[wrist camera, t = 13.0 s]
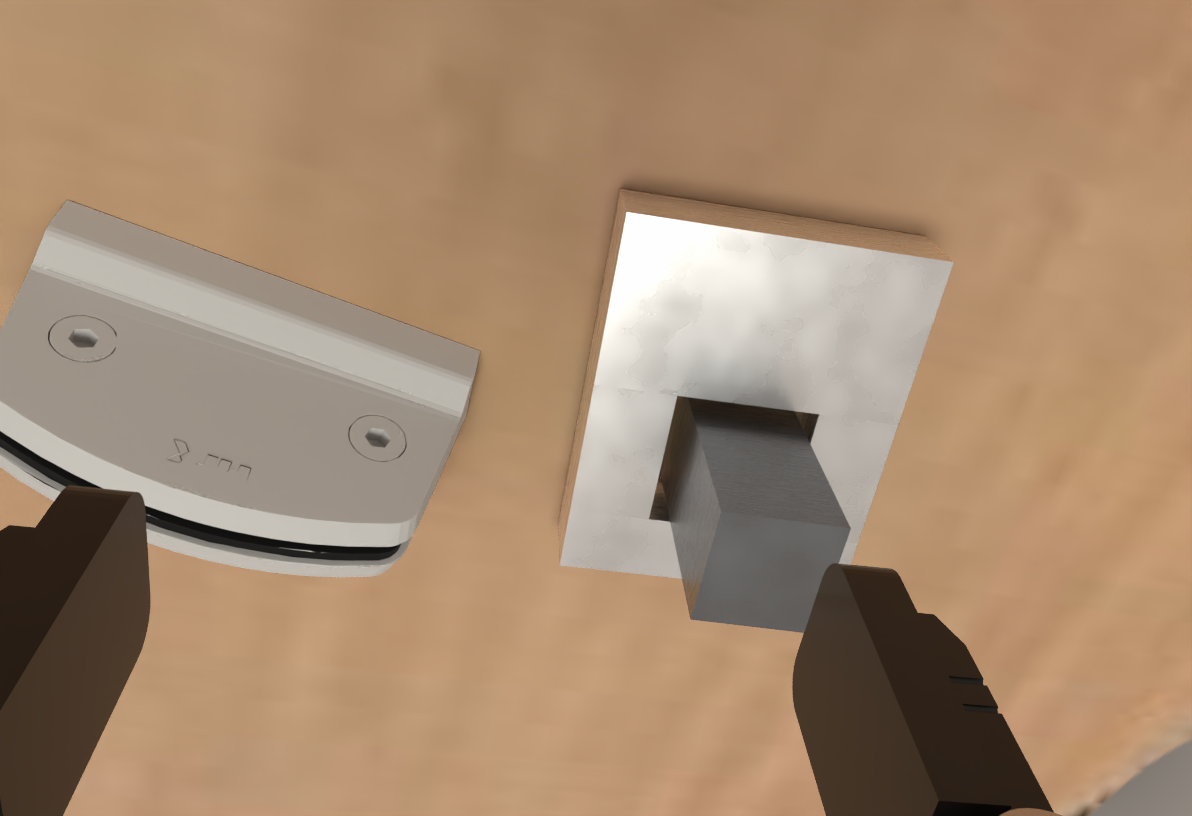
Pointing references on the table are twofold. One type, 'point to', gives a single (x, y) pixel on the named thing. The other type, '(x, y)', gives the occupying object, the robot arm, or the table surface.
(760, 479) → the square peg
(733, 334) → the square hole plate
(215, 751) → the table surface
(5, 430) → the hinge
